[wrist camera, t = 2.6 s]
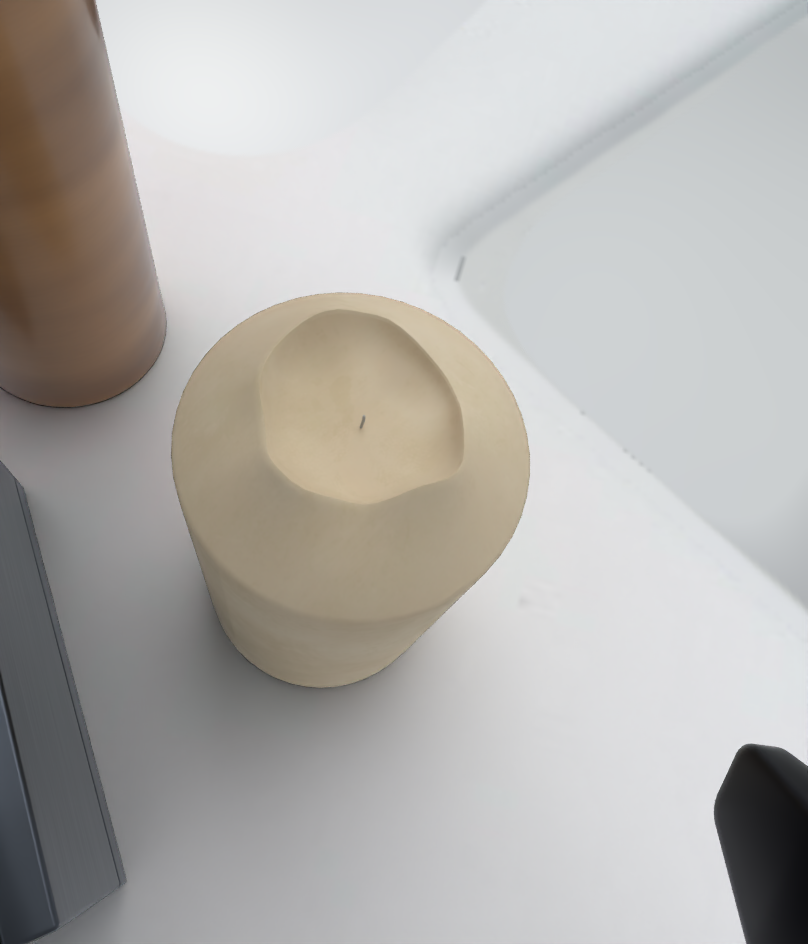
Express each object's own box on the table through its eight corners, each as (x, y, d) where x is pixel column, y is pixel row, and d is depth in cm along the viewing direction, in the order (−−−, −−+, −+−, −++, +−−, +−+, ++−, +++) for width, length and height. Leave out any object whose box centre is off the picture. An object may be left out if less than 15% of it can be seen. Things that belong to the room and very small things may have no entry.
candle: (471, 583, 20) (638, 418, 11) (316, 740, 18) (363, 697, 9) (328, 439, 21) (372, 174, 12) (164, 572, 19) (66, 378, 10)
